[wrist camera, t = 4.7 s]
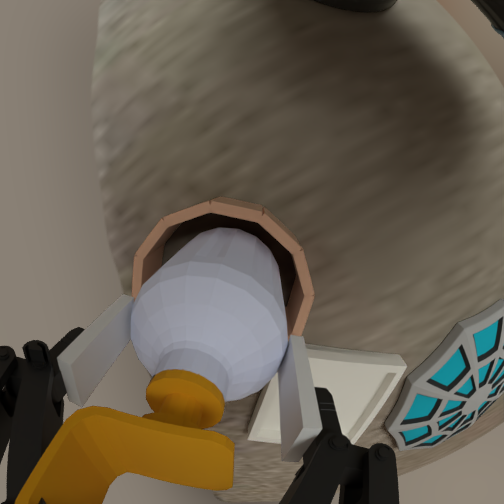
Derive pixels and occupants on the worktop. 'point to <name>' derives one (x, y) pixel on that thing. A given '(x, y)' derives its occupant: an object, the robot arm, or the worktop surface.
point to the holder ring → (153, 246)
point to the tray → (335, 390)
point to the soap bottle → (178, 374)
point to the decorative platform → (452, 383)
